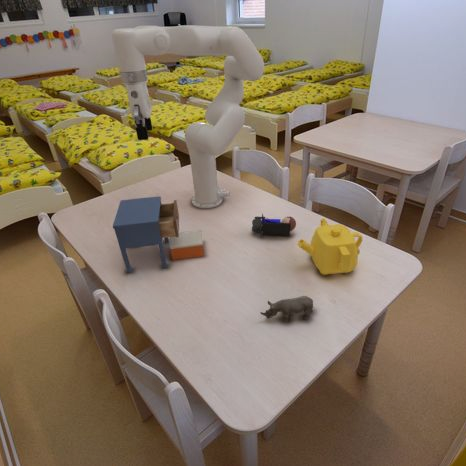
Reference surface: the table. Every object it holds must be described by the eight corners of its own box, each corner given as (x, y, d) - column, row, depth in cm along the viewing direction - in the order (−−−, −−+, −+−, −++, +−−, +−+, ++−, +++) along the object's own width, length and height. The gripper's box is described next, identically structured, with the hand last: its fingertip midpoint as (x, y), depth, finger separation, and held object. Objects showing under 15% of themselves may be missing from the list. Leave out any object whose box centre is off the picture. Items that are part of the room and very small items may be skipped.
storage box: (203, 242, 114) (201, 230, 111) (204, 256, 107) (202, 243, 104) (172, 246, 113) (170, 233, 110) (171, 260, 106) (169, 247, 103)
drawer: (180, 215, 109) (177, 199, 106) (179, 236, 99) (176, 220, 96) (148, 219, 109) (144, 203, 105) (144, 241, 98) (140, 224, 95)
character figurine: (252, 228, 120) (295, 231, 118) (250, 239, 114) (295, 241, 111) (252, 209, 116) (296, 210, 114) (250, 218, 110) (296, 220, 108)
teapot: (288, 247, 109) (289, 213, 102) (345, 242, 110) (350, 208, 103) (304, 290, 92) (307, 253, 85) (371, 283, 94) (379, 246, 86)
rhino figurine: (258, 314, 86) (258, 297, 83) (311, 307, 87) (312, 290, 84) (261, 326, 83) (261, 309, 79) (316, 319, 84) (318, 302, 80)
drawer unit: (169, 240, 116) (160, 196, 106) (167, 268, 103) (157, 221, 94) (132, 244, 115) (120, 200, 105) (126, 273, 102) (112, 226, 92)
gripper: (142, 81, 92) (154, 142, 102) (150, 72, 106) (160, 126, 116) (115, 83, 92) (129, 144, 101) (127, 73, 106) (138, 127, 116)
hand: (145, 134), depth 109 cm, fingers open, 9 cm apart
